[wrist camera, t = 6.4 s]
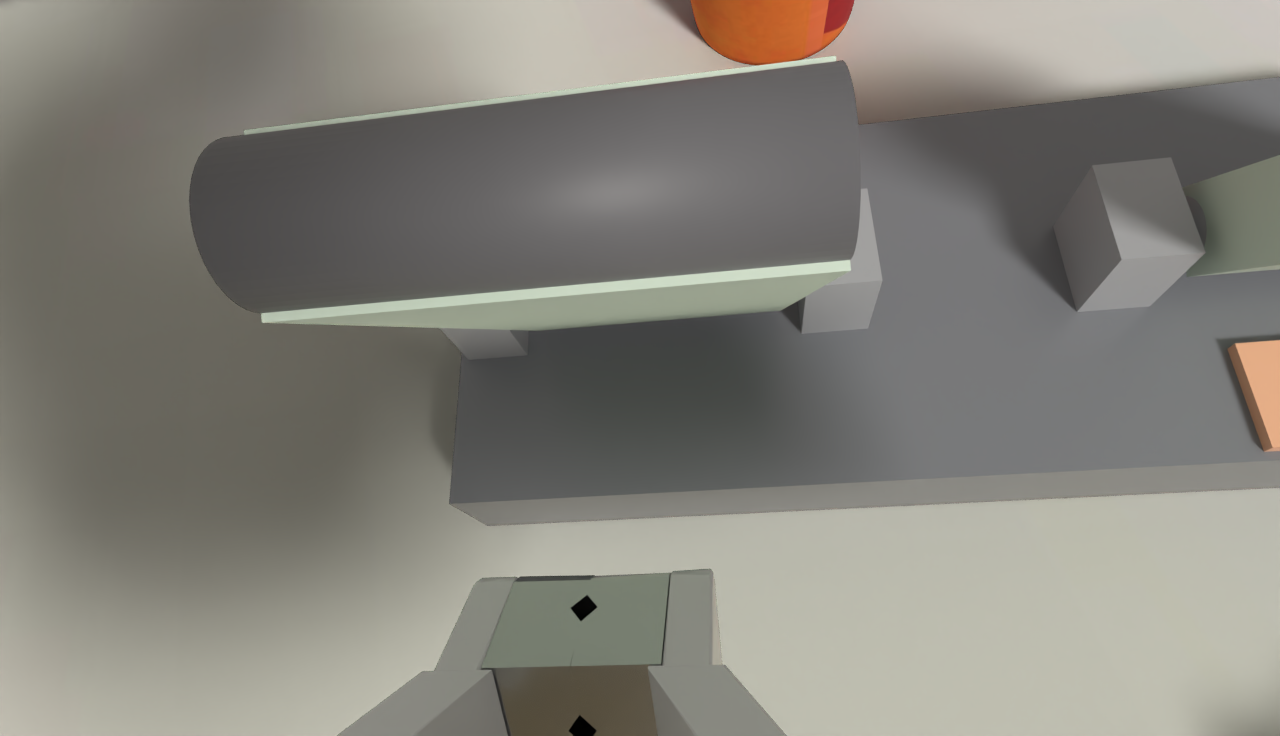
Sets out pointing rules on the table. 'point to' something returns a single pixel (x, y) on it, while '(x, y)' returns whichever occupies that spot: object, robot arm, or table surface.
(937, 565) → the table surface
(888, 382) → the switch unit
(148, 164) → the table surface
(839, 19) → the paper cup
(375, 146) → the lever
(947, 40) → the table surface
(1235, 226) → the lever
